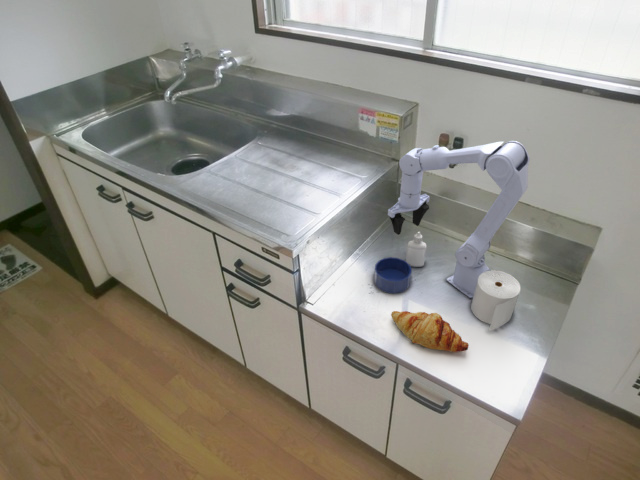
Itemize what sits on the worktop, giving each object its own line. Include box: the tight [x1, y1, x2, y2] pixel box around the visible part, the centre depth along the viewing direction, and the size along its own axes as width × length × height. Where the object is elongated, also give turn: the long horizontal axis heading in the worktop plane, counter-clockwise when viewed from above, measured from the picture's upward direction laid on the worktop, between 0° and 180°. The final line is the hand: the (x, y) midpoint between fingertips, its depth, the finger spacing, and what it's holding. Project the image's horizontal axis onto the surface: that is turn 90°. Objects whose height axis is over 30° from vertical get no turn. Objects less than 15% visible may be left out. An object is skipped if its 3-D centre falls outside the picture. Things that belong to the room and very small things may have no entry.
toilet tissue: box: [470, 269, 521, 332], centre depth 120 cm, size 11×12×10 cm
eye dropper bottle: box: [405, 231, 427, 268], centre depth 137 cm, size 4×6×12 cm
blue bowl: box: [373, 256, 413, 294], centre depth 133 cm, size 10×10×5 cm
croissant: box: [390, 310, 470, 353], centre depth 116 cm, size 21×10×8 cm, turn 55°
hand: (406, 228), depth 138 cm, fingers open, 7 cm apart
